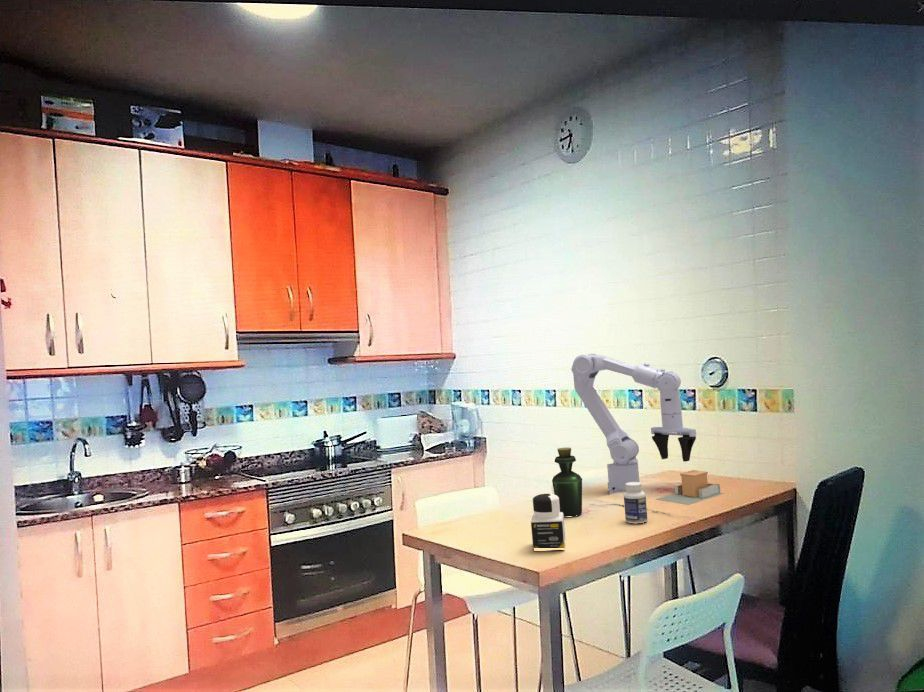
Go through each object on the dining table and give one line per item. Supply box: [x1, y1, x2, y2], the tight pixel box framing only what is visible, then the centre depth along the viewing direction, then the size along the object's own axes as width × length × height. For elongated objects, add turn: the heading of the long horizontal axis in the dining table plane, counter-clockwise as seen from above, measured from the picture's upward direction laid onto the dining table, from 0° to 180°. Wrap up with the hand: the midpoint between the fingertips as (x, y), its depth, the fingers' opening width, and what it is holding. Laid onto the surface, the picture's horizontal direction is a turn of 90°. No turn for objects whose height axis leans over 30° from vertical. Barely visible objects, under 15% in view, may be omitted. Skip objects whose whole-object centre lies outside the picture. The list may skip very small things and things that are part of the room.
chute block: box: [679, 469, 709, 497], centre depth 188 cm, size 6×5×6 cm
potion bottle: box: [551, 446, 583, 517], centre depth 183 cm, size 8×8×18 cm
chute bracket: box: [674, 482, 721, 499], centre depth 189 cm, size 8×9×2 cm
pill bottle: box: [623, 482, 648, 525], centre depth 170 cm, size 5×5×10 cm
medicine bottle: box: [530, 493, 567, 549], centre depth 155 cm, size 7×7×12 cm
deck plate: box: [655, 492, 725, 506], centre depth 187 cm, size 16×11×1 cm
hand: (675, 459), depth 196 cm, fingers open, 7 cm apart
